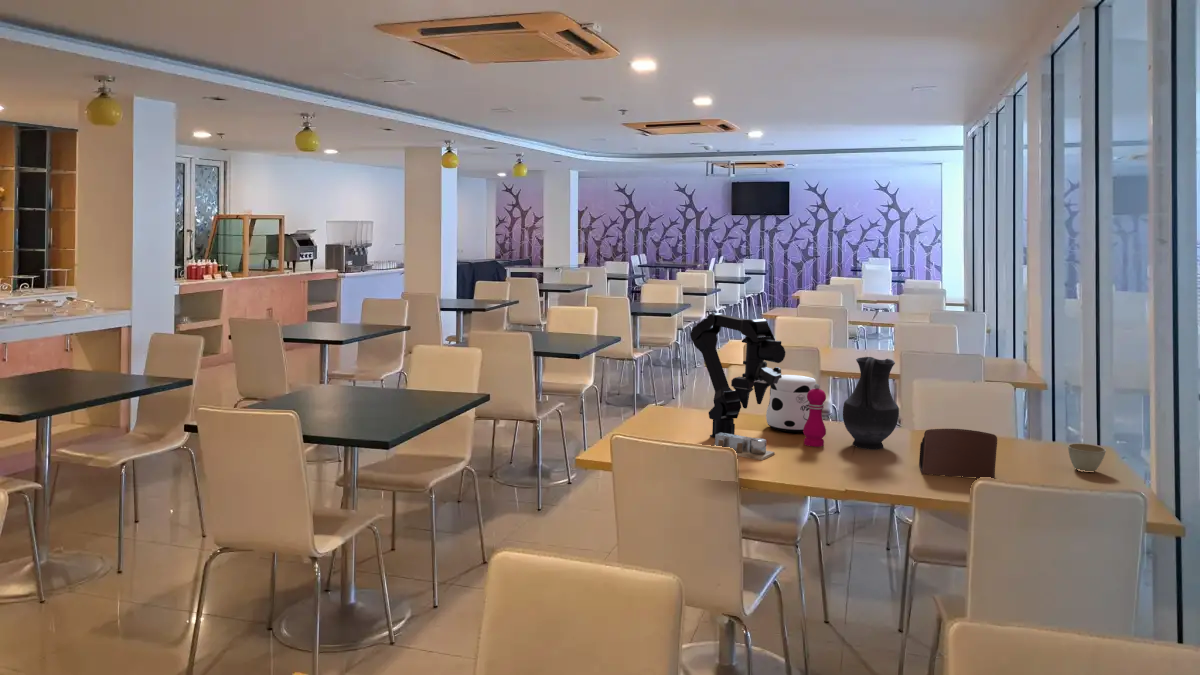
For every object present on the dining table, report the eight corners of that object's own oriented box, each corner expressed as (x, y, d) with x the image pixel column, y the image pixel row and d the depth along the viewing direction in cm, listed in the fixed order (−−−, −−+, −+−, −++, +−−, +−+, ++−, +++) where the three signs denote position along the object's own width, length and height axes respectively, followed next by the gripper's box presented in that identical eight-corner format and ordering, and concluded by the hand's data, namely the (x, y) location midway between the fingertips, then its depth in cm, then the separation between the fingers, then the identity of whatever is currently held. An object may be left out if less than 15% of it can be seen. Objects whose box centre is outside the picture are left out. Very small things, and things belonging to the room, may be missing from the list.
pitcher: (899, 444, 307) (905, 353, 303) (890, 458, 288) (896, 362, 284) (846, 437, 314) (851, 349, 310) (833, 450, 295) (839, 357, 292)
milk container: (821, 435, 316) (824, 383, 314) (770, 434, 316) (772, 382, 314) (810, 424, 333) (813, 374, 331) (761, 423, 333) (764, 373, 331)
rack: (706, 450, 292) (706, 438, 292) (719, 444, 300) (720, 433, 299) (761, 460, 282) (762, 447, 281) (774, 454, 289) (775, 442, 288)
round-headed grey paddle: (713, 447, 293) (714, 434, 293) (721, 444, 297) (721, 431, 297) (761, 455, 284) (762, 442, 283) (768, 452, 288) (769, 439, 287)
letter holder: (994, 480, 266) (998, 432, 264) (921, 474, 271) (924, 427, 269) (989, 471, 275) (992, 425, 274) (918, 466, 280) (921, 420, 278)
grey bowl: (1059, 466, 283) (1061, 443, 282) (1090, 466, 284) (1092, 443, 283) (1078, 475, 273) (1080, 451, 272) (1111, 475, 274) (1113, 451, 273)
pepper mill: (825, 448, 299) (829, 386, 296) (802, 446, 300) (805, 385, 298) (824, 442, 306) (828, 382, 303) (802, 441, 307) (805, 381, 305)
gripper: (763, 364, 284) (760, 414, 287) (791, 358, 299) (788, 405, 301) (731, 360, 291) (729, 409, 293) (760, 354, 306) (757, 400, 308)
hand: (752, 406), depth 299 cm, fingers open, 9 cm apart
